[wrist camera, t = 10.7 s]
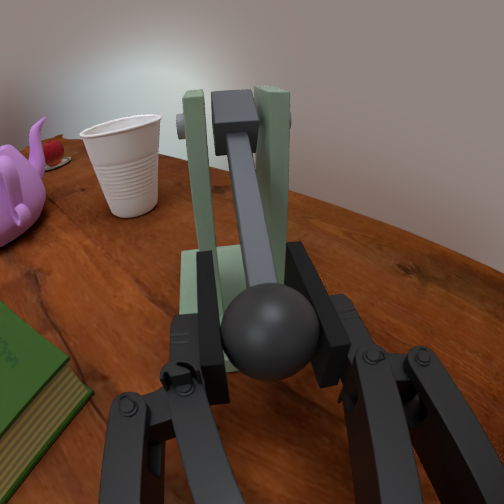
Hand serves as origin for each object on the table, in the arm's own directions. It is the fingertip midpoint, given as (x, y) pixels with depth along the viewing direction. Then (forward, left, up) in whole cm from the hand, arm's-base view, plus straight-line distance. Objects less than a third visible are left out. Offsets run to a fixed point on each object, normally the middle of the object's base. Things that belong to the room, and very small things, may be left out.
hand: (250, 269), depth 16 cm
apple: (+25, -61, -7) cm, 67 cm away
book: (+26, +3, -7) cm, 27 cm away
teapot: (+26, -31, -7) cm, 41 cm away
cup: (+6, -25, -7) cm, 27 cm away
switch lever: (0, -1, +2) cm, 2 cm away
